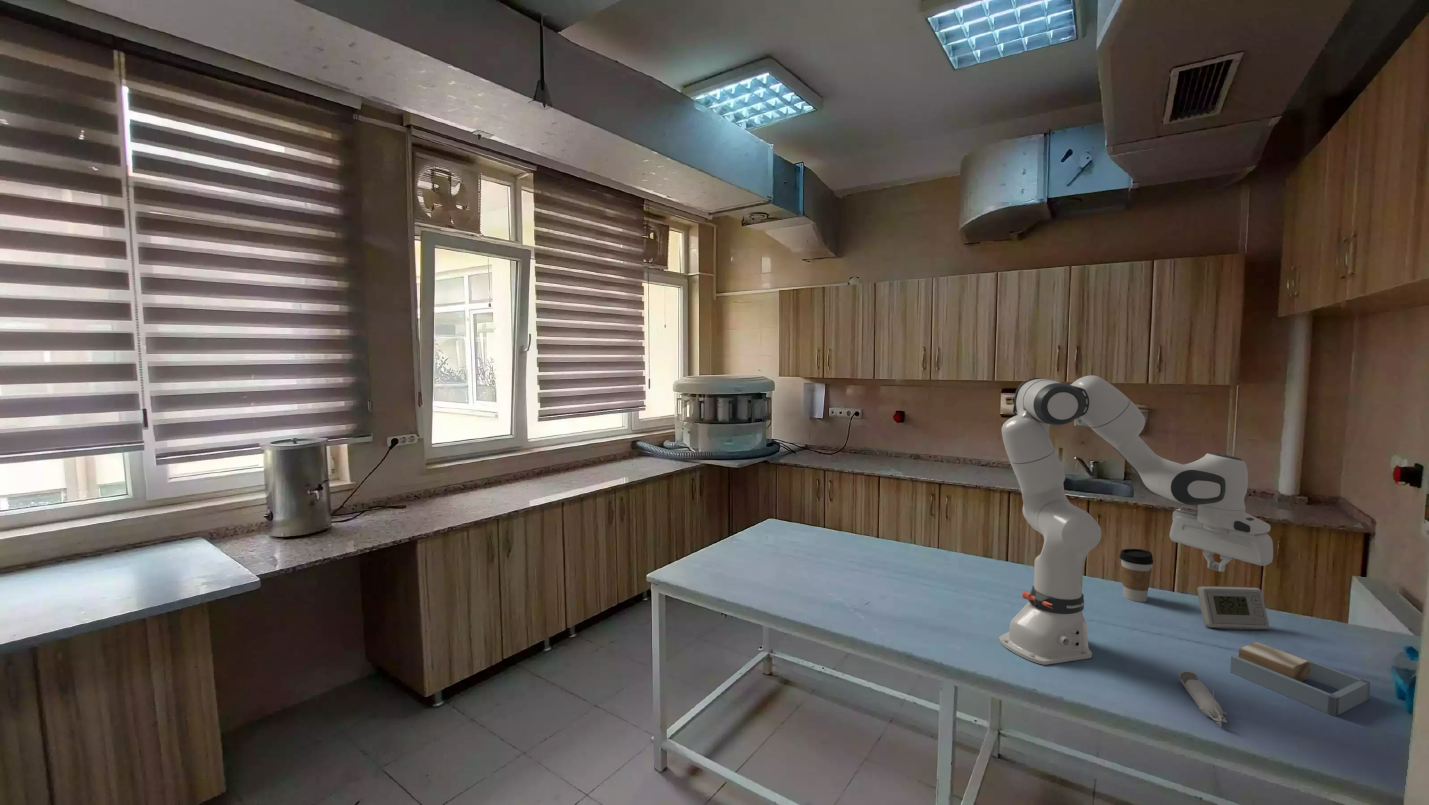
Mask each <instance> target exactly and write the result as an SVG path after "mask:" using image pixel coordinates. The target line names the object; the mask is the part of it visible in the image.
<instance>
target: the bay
mask: <svg viewBox="0 0 1429 805" xmlns="http://www.w3.org/2000/svg"><path fill="white" fill-rule="evenodd" d="M1262 644H1263V645H1266V646H1268V647H1271V648H1274V649H1277V650H1280V651H1282V652H1285V653H1288V654H1291V655H1293V656H1296V657H1299V658H1302V659H1304V660H1307V661H1308V662H1310V673H1309V678H1308V679H1309V680H1313V681H1315V682H1317V683H1320V684H1323V685H1324V686H1327V687H1330V688H1333V689H1336V690H1337V691H1335V692H1333V693H1329V692H1327V691H1326V690H1325V691H1324V690H1323V689H1321V688H1320V689H1319V688H1318V687H1314V686H1312V685H1309V684H1308V683H1305V682H1303V681H1302V682H1300V681H1297V680H1295V679H1292V678H1290V677H1287V676H1285V675H1282V674H1280V673H1277V672H1275V671H1272V670H1270V669H1267V668H1265V667H1262V666H1260V665H1257V664H1255V663H1252V662H1249V661H1247V660H1244V659H1242V658H1239V656H1236V655H1231V656H1230V669H1229V670H1230V673H1231V674H1233V675H1236V676H1239V677H1241V678H1243V679H1245V680H1248V681H1249V682H1252V683H1255V684H1257V685H1258V686H1259V685H1260V686H1262V687H1264V688H1267V689H1269V690H1272V691H1274V692H1276V693H1278V694H1281V695H1283V696H1285V697H1287V698H1291V699H1293V700H1295V701H1297V702H1299V703H1302V704H1304V705H1306V706H1309V707H1311V708H1314V709H1316V710H1319V711H1321V712H1323V713H1326V714H1328V715H1331V716H1333V717H1338V716H1339V715H1342V714H1344V713H1345V712H1347V711H1349V710H1350V709H1353V708H1355V707H1357V706H1358V705H1361V704H1362V703H1365V702H1366V701H1368V700H1370V694H1371V693H1370V689H1371V681H1368V680H1366V679H1362V678H1360V677H1358V676H1354V675H1352V674H1349V673H1347V672H1343V671H1341V670H1338V669H1336V668H1333V667H1330V666H1327V665H1324V664H1322V663H1319V662H1317V661H1313V660H1311V659H1308V658H1305V657H1303V656H1300V655H1298V654H1295V653H1292V652H1289V651H1287V650H1284V649H1281V648H1279V647H1276V646H1273V645H1270V644H1268V643H1262Z"/></svg>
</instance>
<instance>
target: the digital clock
mask: <svg viewBox="0 0 1429 805" xmlns="http://www.w3.org/2000/svg"><path fill="white" fill-rule="evenodd" d="M1196 591H1197V597H1198V601H1199V606H1200V607H1199V608H1200V611H1201V612H1200V613H1201V616H1202V617H1201V618H1202V621H1203V624H1204V626H1205V627H1207V628H1214V629H1216V628H1217V629H1221V630H1223V629H1224V630H1243V629H1251V630H1250V631H1255V630H1268V629H1270V623H1269V618H1268V617H1269V616H1268V614H1267V609H1266V605H1265V601H1264V596H1263V593H1262V589H1260V588H1259V587H1245V586H1224V585H1223V586H1220V585H1217V586H1216V585H1213V586H1202V585H1201V586H1198V587H1197V590H1196ZM1252 629H1253V630H1252Z"/></svg>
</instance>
